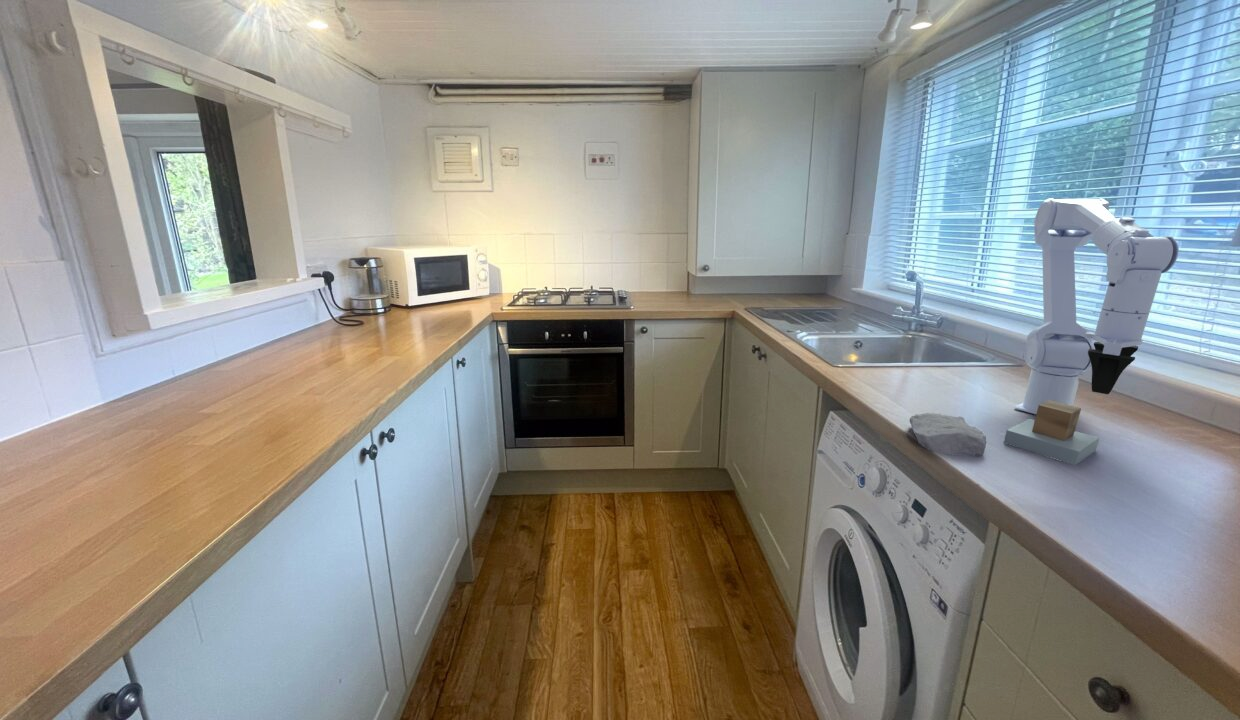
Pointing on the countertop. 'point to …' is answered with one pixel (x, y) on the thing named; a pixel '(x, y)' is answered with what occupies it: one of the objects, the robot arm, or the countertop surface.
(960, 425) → the stone block
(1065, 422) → the walnut block
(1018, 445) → the base slab
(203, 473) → the countertop surface
